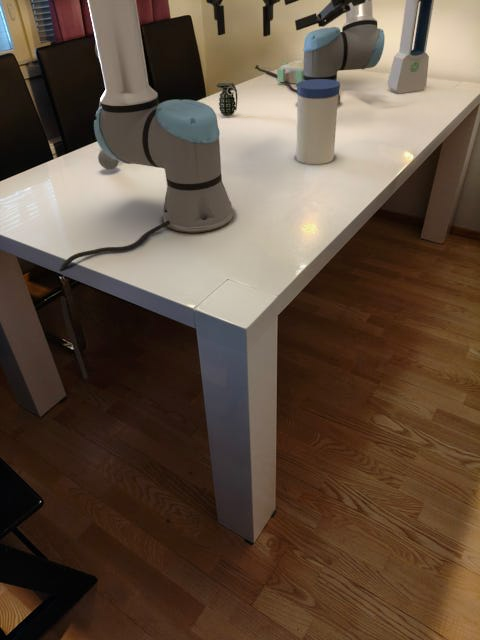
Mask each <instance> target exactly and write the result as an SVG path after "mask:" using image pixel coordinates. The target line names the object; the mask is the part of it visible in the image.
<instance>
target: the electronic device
mask: <svg viewBox="0 0 480 640" xmlns="http://www.w3.org/2000/svg"><path fill="white" fill-rule="evenodd" d="M434 3H435V0H405V5H404V13H403V20H402V27H401V35H400V41H399V42H400V43H399V50H398V52H397V53H396V54H395V55H394V56H393V60H392V64H391V67H390V71H389V75H388V79H387V87H388V89H389V90H390V91H392V92H394V93H397V94H403V93H404V94H406V93H412V92H413V93H414V92H421V91H424V90H425V89H426V87H427V82H428V70H429V59H430V56H429V54H428V53H427V52H426V51H427V45H428V41H429V40H428V39H429V35H430V28H431V22H432V15H433V10H434V5H435V4H434Z"/></svg>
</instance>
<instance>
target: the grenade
mask: <svg viewBox="0 0 480 640" xmlns="http://www.w3.org/2000/svg"><path fill="white" fill-rule="evenodd" d="M215 87H217V88H219V89H221V93H219V97H218V101H219V102H218V106H219V108H218V109H219V112H220V114H221V115H222V116H224V117H231V116H233V115H234V113H235V112H236V111H237V108H238V89H237V87H236V85H235V84H234V83H233V82H218V83H217V84H216V86H215ZM232 91H233V92H232ZM234 94H235V96H234Z"/></svg>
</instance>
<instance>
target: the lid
mask: <svg viewBox="0 0 480 640" xmlns="http://www.w3.org/2000/svg"><path fill="white" fill-rule="evenodd" d="M340 89H341V82H340V81H338V80H337V81H335V80H329V79H312V80H305V81H301V82H299V83H297V84H296V90H297V93H296V94H297V96H298V95H299V96H302V97H308V98H325V97H331V96H335V95H337V94H339V93H340V92H341V91H340Z"/></svg>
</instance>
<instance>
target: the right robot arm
mask: <svg viewBox="0 0 480 640" xmlns="http://www.w3.org/2000/svg"><path fill="white" fill-rule="evenodd" d="M298 1H300V0H284V1H283V2H284V6H288V5H291V4H294V3H296V2H298ZM343 14H345V17H346V21H345V23H344V24H343V26H341V27H342V28H340V27H339V26H338V27H337V26H330V27H325V26H327V25H328V24H330V23H331V22H333V21H334V20H336V19H337V18H339V17H340V16H342V15H343ZM294 25H295V30H296V31H300V30H302V29H306V28H308V27H312V26H314V25H317V26H318V27H319V29H315V30H312V31H309V32H308V33H307V34H306V35H305V36H304V43H303V59H304V69H303V81H305V80H312V79H329V80H335V81H338V80H337V79H338V72H340V71H341V72H342V71H353V70H354V71H355V70H365V69H371V68H374V67H376V66H377V65H378V64H379V62H380V60H381V58H382V56H383V52H384V47H385V33H384V29H382V28H378V20H377V19H376V18H374V16H373V0H330V2H329V3H328V4H327V5H326V6H325V7H324V8H323V9H322V10H321V11H320V12H318V14H317V13H316V12H314V13H312V14H310V15H307V16H304V17H301V18H297V19H296V20H294ZM321 27H322V28H321ZM254 69H255V70H258V71H259V72H260V73H261V72H262V73H265V74H267V75H271V76H273V77H275V78H277V73H275V72H271V71H270V70H266V69H263V68H260V66H259V65H258V64H256V65H255V67H254ZM283 83H284V84H285V85H286V86H287V87H288V88H289V90H291V91H292V92H294V93H296V94H297V88H294V87H293V86H292V85H291V83H288V82H287V81H285V82H283ZM341 99H342V98H341V94H340V92H339V94H338V104H337V107H338V106H340V105H341ZM296 104H297V105H298V101H297V103H296Z"/></svg>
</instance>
